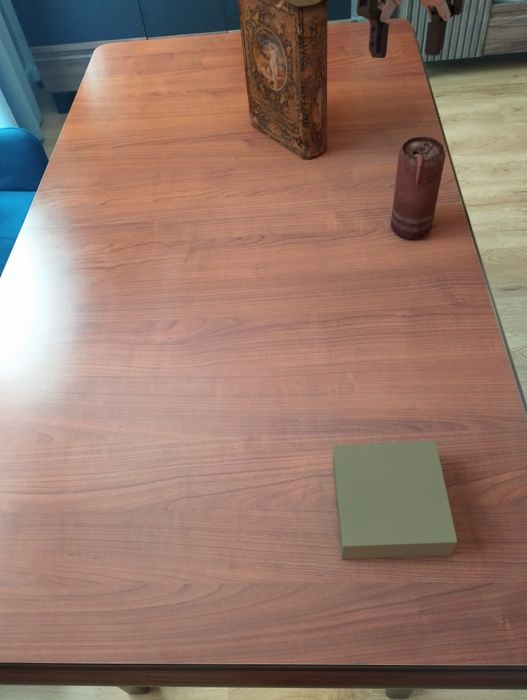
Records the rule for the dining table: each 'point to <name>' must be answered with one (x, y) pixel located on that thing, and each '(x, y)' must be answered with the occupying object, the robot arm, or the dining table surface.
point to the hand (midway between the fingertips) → (405, 56)
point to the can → (417, 187)
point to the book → (287, 71)
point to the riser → (392, 501)
